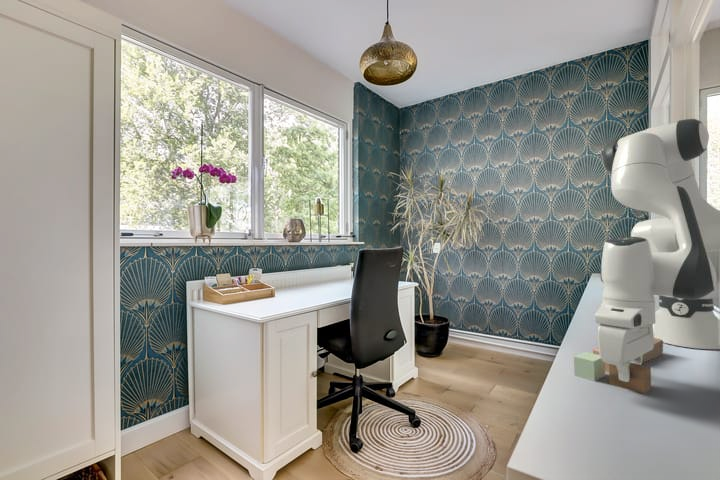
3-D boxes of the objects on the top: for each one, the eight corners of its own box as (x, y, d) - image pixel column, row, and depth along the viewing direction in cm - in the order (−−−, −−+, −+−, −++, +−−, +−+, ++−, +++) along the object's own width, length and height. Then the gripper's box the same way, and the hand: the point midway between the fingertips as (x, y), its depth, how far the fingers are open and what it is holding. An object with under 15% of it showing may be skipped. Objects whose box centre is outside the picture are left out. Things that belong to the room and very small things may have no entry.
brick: (638, 367, 82) (638, 348, 82) (600, 357, 90) (600, 340, 90) (664, 356, 91) (664, 339, 91) (627, 348, 98) (627, 332, 98)
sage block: (585, 370, 80) (585, 351, 80) (605, 375, 77) (604, 356, 77) (574, 376, 77) (574, 356, 77) (594, 381, 73) (593, 361, 73)
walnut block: (609, 383, 72) (609, 363, 72) (616, 379, 74) (616, 359, 74) (644, 393, 67) (644, 371, 67) (651, 388, 69) (650, 367, 69)
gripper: (627, 305, 79) (629, 363, 79) (590, 315, 68) (592, 383, 67) (662, 309, 74) (664, 371, 74) (628, 321, 63) (631, 395, 62)
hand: (629, 377), depth 70 cm, fingers closed on walnut block, 4 cm apart
